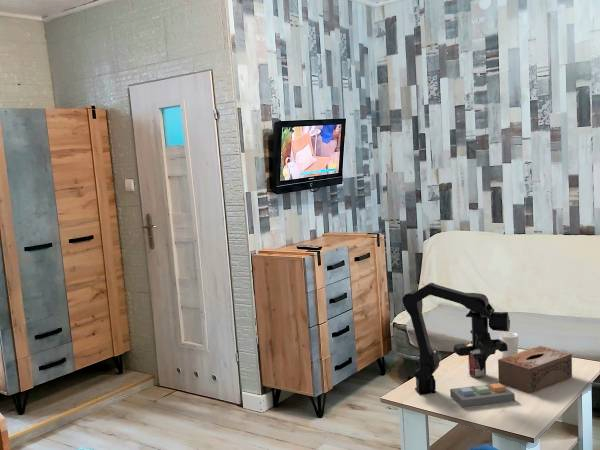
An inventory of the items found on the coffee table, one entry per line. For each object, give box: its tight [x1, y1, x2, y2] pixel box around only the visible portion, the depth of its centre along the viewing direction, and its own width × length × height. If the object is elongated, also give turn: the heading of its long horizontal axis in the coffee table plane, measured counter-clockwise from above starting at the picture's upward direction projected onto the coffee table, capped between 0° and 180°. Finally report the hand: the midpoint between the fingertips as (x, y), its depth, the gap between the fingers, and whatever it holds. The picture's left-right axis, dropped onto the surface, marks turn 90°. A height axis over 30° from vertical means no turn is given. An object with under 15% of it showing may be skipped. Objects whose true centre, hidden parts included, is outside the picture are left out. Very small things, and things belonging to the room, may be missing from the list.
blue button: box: [458, 386, 474, 396], centre depth 222 cm, size 4×4×3 cm
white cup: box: [499, 331, 519, 358], centre depth 267 cm, size 8×8×10 cm
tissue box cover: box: [497, 345, 573, 395], centre depth 238 cm, size 26×14×10 cm, turn 122°
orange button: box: [488, 382, 506, 392], centre depth 224 cm, size 4×4×3 cm
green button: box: [473, 384, 489, 394], centre depth 223 cm, size 4×4×3 cm
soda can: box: [467, 344, 487, 378], centre depth 247 cm, size 7×7×12 cm
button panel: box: [449, 383, 516, 409], centre depth 223 cm, size 20×11×3 cm, turn 99°
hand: (481, 370), depth 223 cm, fingers closed
